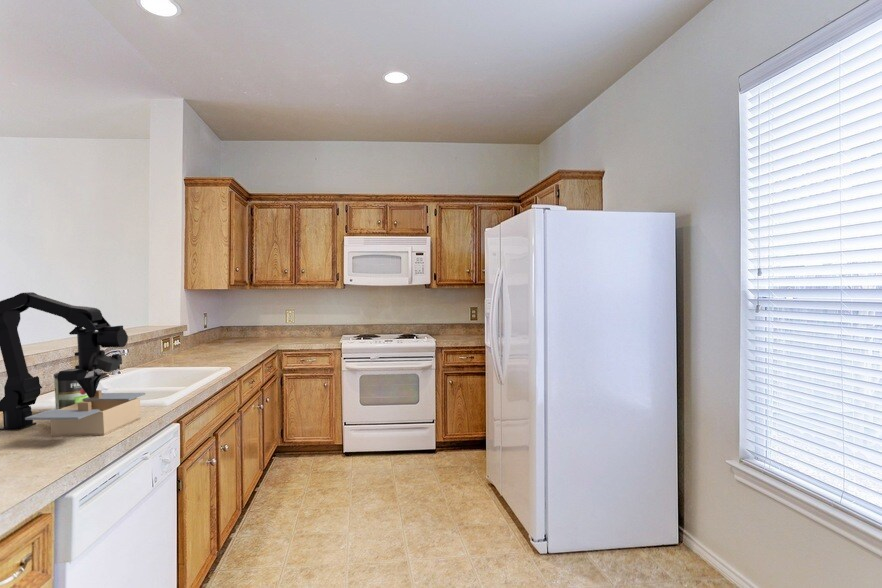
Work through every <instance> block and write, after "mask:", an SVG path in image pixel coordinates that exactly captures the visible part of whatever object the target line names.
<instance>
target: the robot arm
mask: <svg viewBox="0 0 882 588" xmlns="http://www.w3.org/2000/svg"><path fill="white" fill-rule="evenodd" d="M30 308H31V309H35V310H37V311H41V312H44V313H48V314H51V315H54V316H56V317H57V316H58V317H60V318H63V319H65V320H66V322H67V323H70V324H72V325H74V326H75V327H74V329H72V330H71V331H70V332H68V334H69V335H77V336H76V337H77V351H76V352H74V357H77V359H78V364H77V365H75V366H74V367H75V368H67V369H63V370H59V371H58V372H57V373H58V374H57V381H75V380H76V381H77V382H78V383H79V384H80V385H81V387H82V388H83V389H84V391H85V392H86V394H87V395H88V397H89V398H92V397H94V395H95V392H96V390H98V386H99V384H100V381H101V379H102V378H103V377H105V376H107V375H108V373H110V372H112V371H117V370H120V369H121V365H122V364H123V357H122V354H121V353H120V354H119V353H115V354H114V353H113V354H112V355H106V352H105V350H104V349H101V348H105V349H106V348H108V349H109V348H124V347H126V346H127V343H128V339H129V336H128V334H127V331H126V330H125V328H124V325H116V326H113V325H111V324H110V323H109V322H108V321H107V320H106V318H105V317H104V316H103V313H102V311H101V310H100V309H99V308H97V307H91V306H81V305H74V304H73V305H72V304H69V303H66V302H63V301H59V300H55V299H53V298H50V297H46V296H43V295H40V294H37V293H35V292H29V291H28V292H27V291H26V292H20V293H18V294H16V295H14V296H11V297H8V298H5V299H2V300H0V353H1V356H2V359H3V364H4V368H5V370H6V371H5V372H6V376H7V378H6V382H5V384H4V387H3V389H4V391H3V393H4V396H3V397H2V398H1V400H0V412H1V413H2V418H3V419H2V420H3V421H2V422H3V423H2V424H3V426H2V427H0V431H20V430H23V429H25V428H28V427H31V426H34V425H36V424H37V422H35V421H34V420H25V418H26V417H29V416H32V415H33V411H32V406H33V405H35V404H36V401H37V398H39V396H40V395H41V390H42V389H43V387H42V385H41V382H40V377H39V376H38V375H37V376H32V375H31V374H30V372H29V371H28V366H27V362H26V357H25V355H24V350H23V347H22V343H21V338H20V335H19V331H18V327H19V324H20V322H21V313H23V312H26V311H28V309H30ZM33 421H34V422H33Z"/></svg>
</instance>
